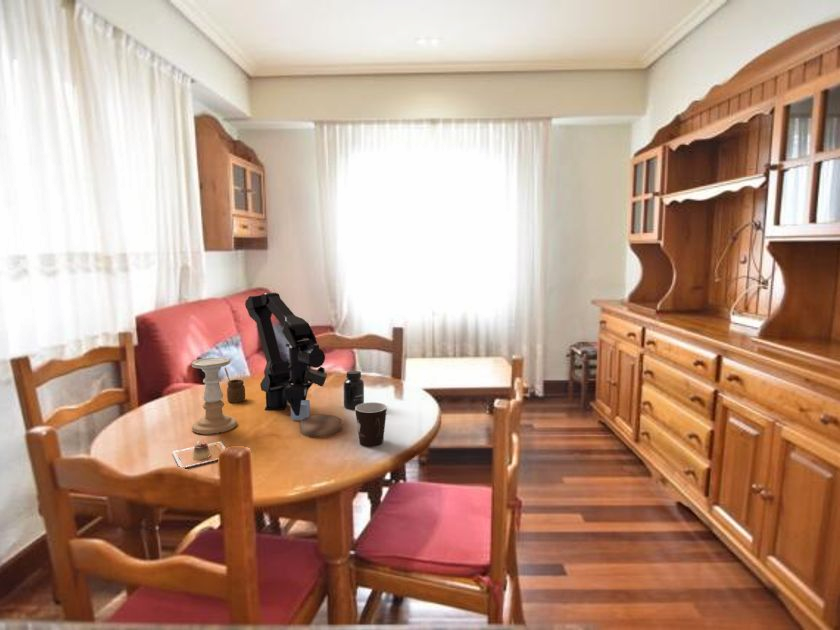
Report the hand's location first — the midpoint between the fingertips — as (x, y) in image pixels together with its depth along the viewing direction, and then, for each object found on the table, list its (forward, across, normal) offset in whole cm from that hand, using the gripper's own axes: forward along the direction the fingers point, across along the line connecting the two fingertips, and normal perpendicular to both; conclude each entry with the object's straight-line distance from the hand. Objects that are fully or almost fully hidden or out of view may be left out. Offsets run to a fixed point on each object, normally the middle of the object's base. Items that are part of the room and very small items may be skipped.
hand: (300, 410), depth 150 cm
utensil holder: (+2, +19, +26) cm, 32 cm away
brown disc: (+2, -11, -8) cm, 14 cm away
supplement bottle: (+2, +10, -16) cm, 19 cm away
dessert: (+3, -28, +20) cm, 34 cm away
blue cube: (+2, 0, 0) cm, 2 cm away
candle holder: (+2, -7, +24) cm, 25 cm away
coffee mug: (+2, -23, -23) cm, 33 cm away
